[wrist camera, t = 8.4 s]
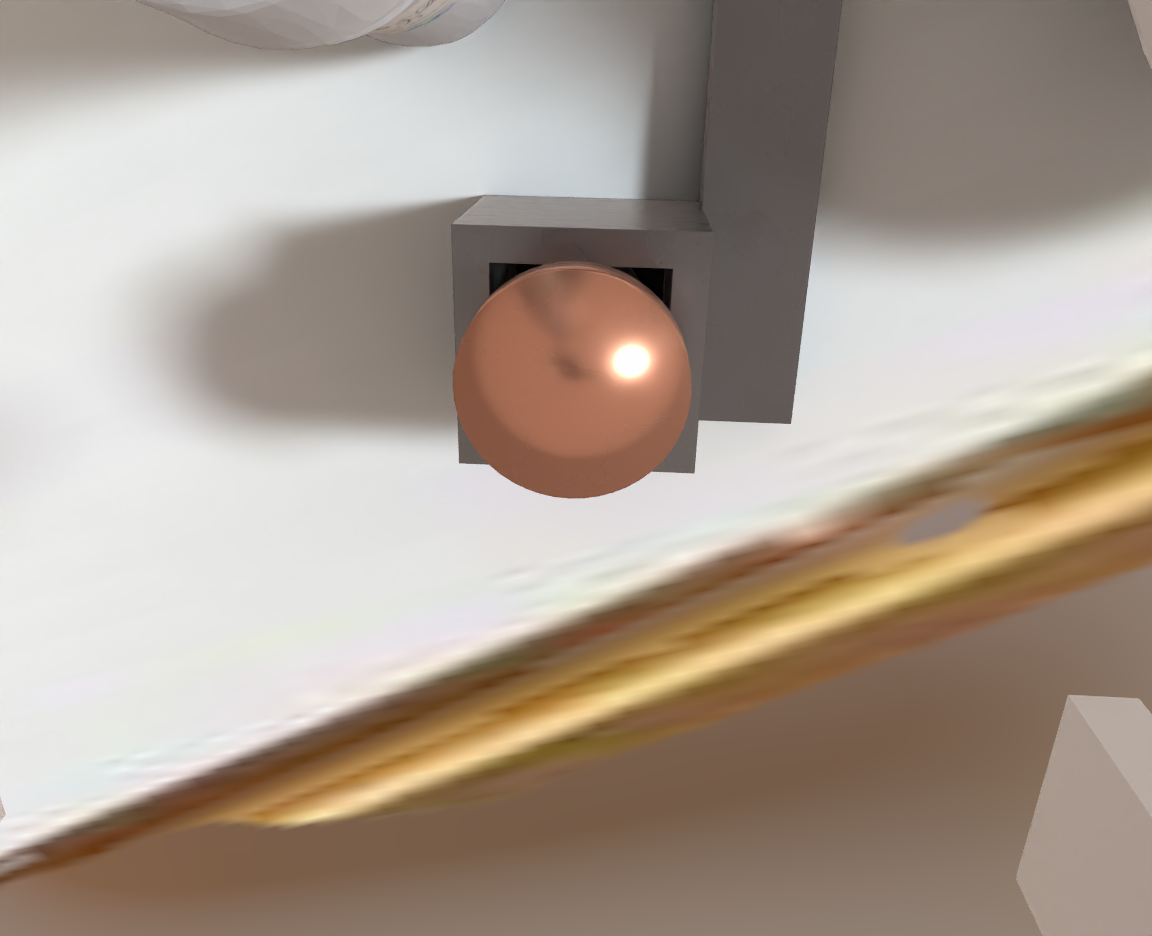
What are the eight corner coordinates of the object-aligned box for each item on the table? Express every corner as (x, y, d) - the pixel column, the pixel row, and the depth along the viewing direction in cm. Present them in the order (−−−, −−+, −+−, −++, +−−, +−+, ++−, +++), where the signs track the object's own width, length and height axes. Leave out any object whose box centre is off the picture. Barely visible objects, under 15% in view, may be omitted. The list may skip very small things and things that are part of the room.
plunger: (496, 214, 30) (448, 266, 22) (684, 220, 29) (700, 275, 22) (498, 392, 32) (456, 493, 25) (672, 399, 32) (683, 503, 24)
